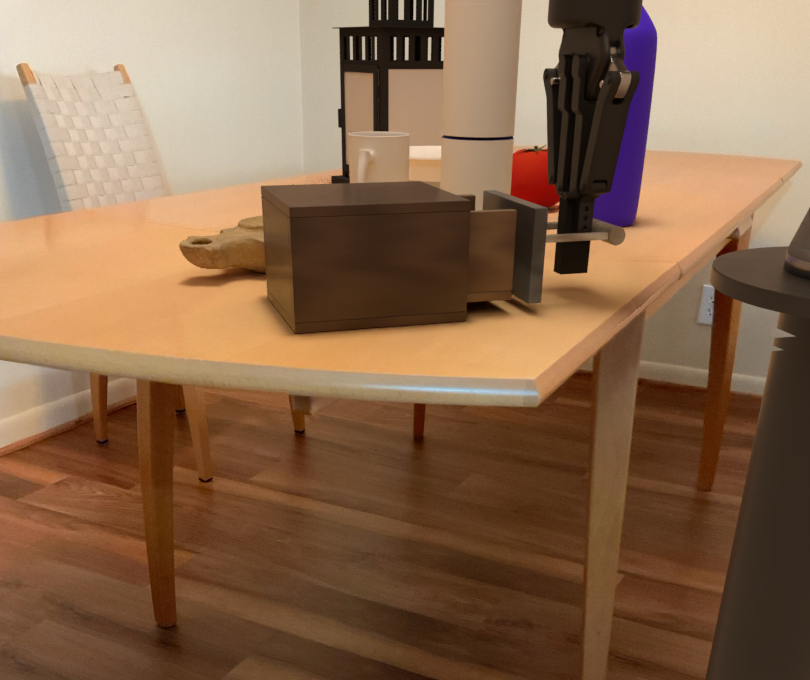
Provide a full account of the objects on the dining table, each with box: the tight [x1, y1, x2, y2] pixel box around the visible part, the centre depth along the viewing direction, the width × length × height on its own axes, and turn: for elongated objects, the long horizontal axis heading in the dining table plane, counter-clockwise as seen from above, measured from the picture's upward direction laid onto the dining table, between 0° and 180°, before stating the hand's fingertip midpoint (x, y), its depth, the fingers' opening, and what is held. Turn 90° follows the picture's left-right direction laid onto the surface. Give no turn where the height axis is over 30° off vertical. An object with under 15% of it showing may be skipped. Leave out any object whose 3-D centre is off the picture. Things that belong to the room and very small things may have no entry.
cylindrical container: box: [440, 0, 523, 211], centre depth 90 cm, size 7×7×25 cm
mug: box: [348, 131, 410, 183], centre depth 101 cm, size 10×7×12 cm, turn 163°
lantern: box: [330, 0, 444, 184], centre depth 145 cm, size 17×17×35 cm
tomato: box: [510, 144, 560, 209], centre depth 131 cm, size 9×10×8 cm
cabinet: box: [260, 181, 471, 334], centre depth 78 cm, size 15×13×10 cm
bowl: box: [409, 146, 441, 189], centre depth 121 cm, size 16×16×8 cm
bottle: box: [593, 4, 658, 228], centre depth 116 cm, size 8×8×30 cm
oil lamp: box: [178, 215, 266, 274], centre depth 92 cm, size 11×14×5 cm
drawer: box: [458, 190, 626, 305], centre depth 81 cm, size 22×11×8 cm, turn 108°
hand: (570, 271), depth 85 cm, fingers closed
